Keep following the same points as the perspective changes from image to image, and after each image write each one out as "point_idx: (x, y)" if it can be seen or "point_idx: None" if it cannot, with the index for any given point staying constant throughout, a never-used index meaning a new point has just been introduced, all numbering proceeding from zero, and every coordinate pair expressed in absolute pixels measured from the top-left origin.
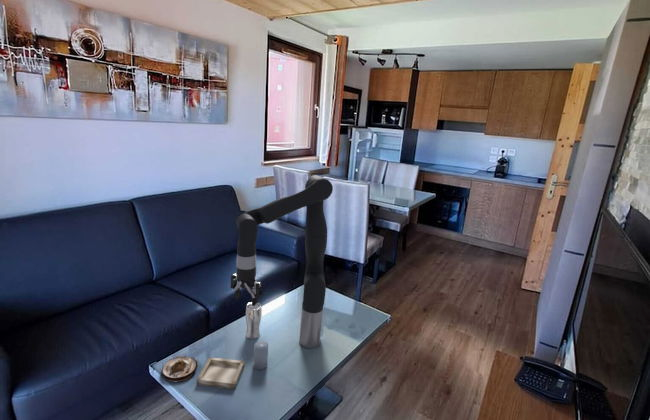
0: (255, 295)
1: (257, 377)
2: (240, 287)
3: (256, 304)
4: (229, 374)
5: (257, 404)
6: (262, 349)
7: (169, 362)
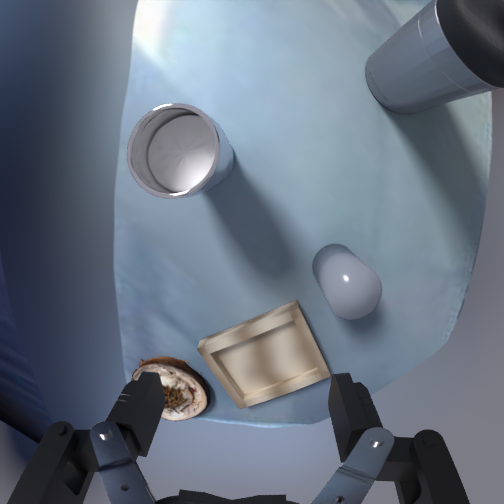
0: (381, 473)
1: None
2: (131, 457)
3: (161, 112)
4: (287, 350)
5: (394, 361)
6: (372, 309)
7: None
